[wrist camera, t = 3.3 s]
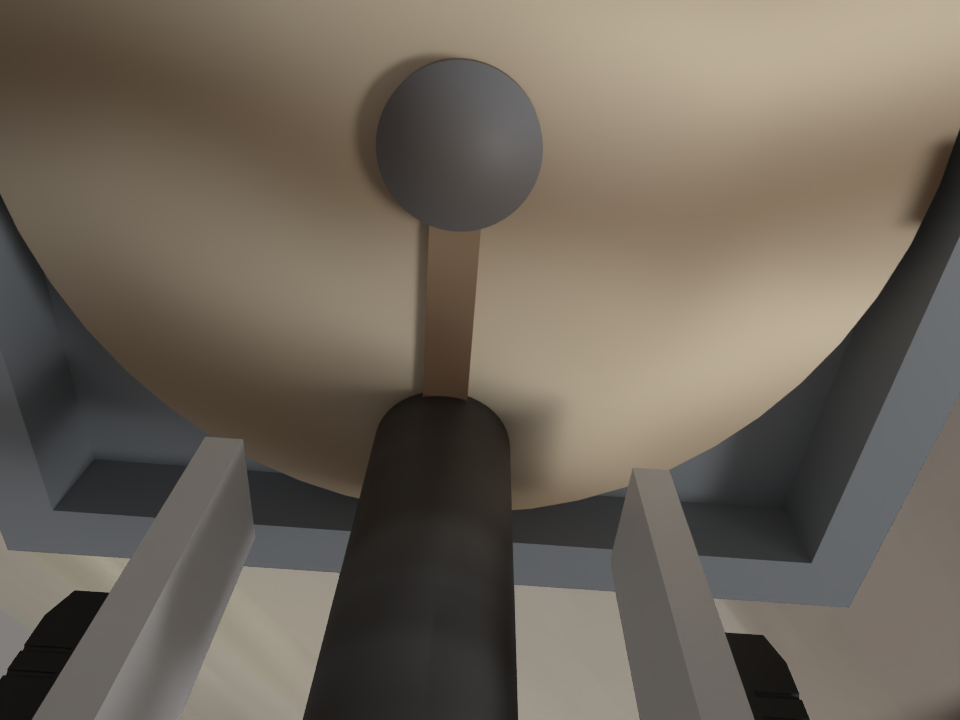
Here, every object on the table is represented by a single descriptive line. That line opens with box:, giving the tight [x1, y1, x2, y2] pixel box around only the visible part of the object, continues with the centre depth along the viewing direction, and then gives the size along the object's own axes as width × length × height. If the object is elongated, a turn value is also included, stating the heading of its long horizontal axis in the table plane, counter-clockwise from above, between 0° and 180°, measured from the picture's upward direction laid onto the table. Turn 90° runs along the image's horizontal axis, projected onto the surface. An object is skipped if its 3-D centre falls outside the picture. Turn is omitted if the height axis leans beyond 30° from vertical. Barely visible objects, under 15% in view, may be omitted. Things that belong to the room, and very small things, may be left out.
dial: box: [0, 0, 960, 720], centre depth 10 cm, size 18×18×10 cm
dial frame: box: [0, 129, 960, 608], centre depth 14 cm, size 22×22×4 cm
